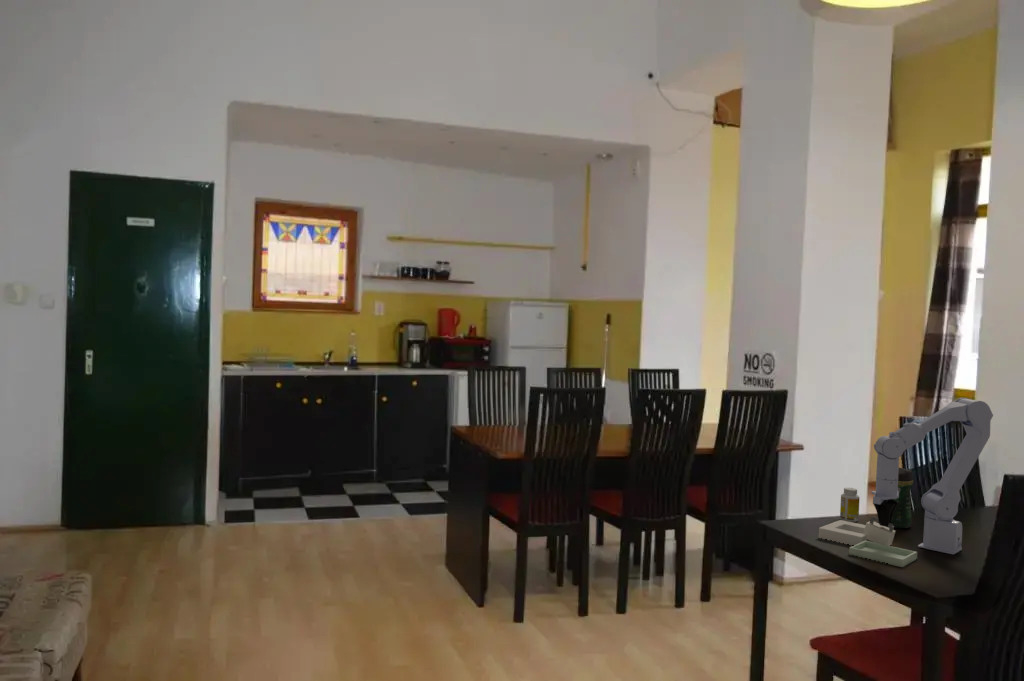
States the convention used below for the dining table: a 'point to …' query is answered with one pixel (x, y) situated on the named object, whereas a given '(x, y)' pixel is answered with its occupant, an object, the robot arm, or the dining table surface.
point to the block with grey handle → (879, 532)
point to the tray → (883, 553)
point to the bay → (843, 532)
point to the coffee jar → (903, 500)
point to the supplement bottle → (849, 505)
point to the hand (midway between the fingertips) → (884, 525)
